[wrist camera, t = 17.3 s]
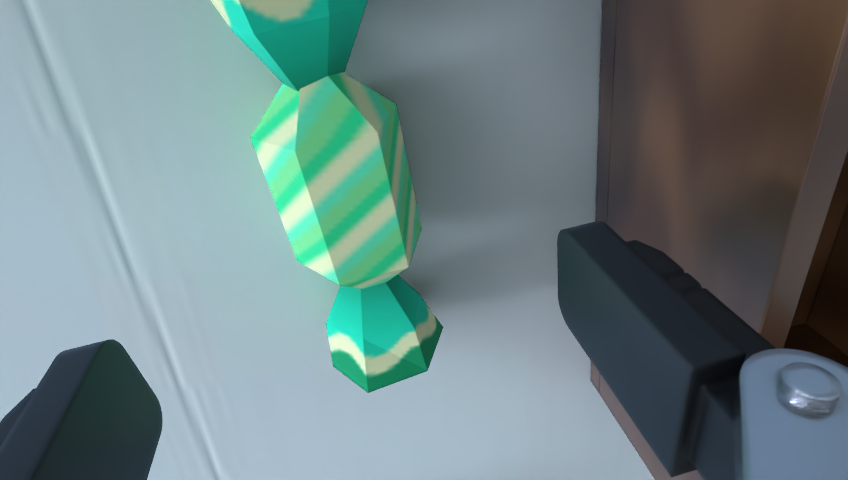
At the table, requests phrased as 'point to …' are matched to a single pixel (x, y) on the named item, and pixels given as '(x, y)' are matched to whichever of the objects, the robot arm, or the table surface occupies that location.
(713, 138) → the chest
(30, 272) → the table surface
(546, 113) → the table surface
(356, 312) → the candy
